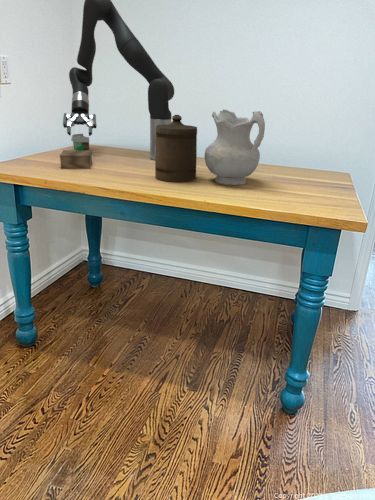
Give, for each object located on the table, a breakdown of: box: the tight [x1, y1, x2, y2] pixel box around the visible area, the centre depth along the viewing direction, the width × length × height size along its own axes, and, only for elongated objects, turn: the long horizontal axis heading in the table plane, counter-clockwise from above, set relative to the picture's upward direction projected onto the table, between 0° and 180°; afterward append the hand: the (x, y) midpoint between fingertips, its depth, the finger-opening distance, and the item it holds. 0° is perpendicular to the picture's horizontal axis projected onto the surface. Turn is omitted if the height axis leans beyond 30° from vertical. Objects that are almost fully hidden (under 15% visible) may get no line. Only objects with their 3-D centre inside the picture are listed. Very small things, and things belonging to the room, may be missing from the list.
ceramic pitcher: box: [204, 109, 266, 186], centre depth 144 cm, size 22×20×25 cm
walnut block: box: [59, 149, 93, 170], centre depth 165 cm, size 11×12×5 cm
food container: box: [71, 133, 90, 150], centre depth 177 cm, size 12×6×10 cm, turn 25°
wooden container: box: [154, 114, 198, 183], centre depth 148 cm, size 15×15×22 cm
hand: (79, 134), depth 180 cm, fingers open, 8 cm apart
